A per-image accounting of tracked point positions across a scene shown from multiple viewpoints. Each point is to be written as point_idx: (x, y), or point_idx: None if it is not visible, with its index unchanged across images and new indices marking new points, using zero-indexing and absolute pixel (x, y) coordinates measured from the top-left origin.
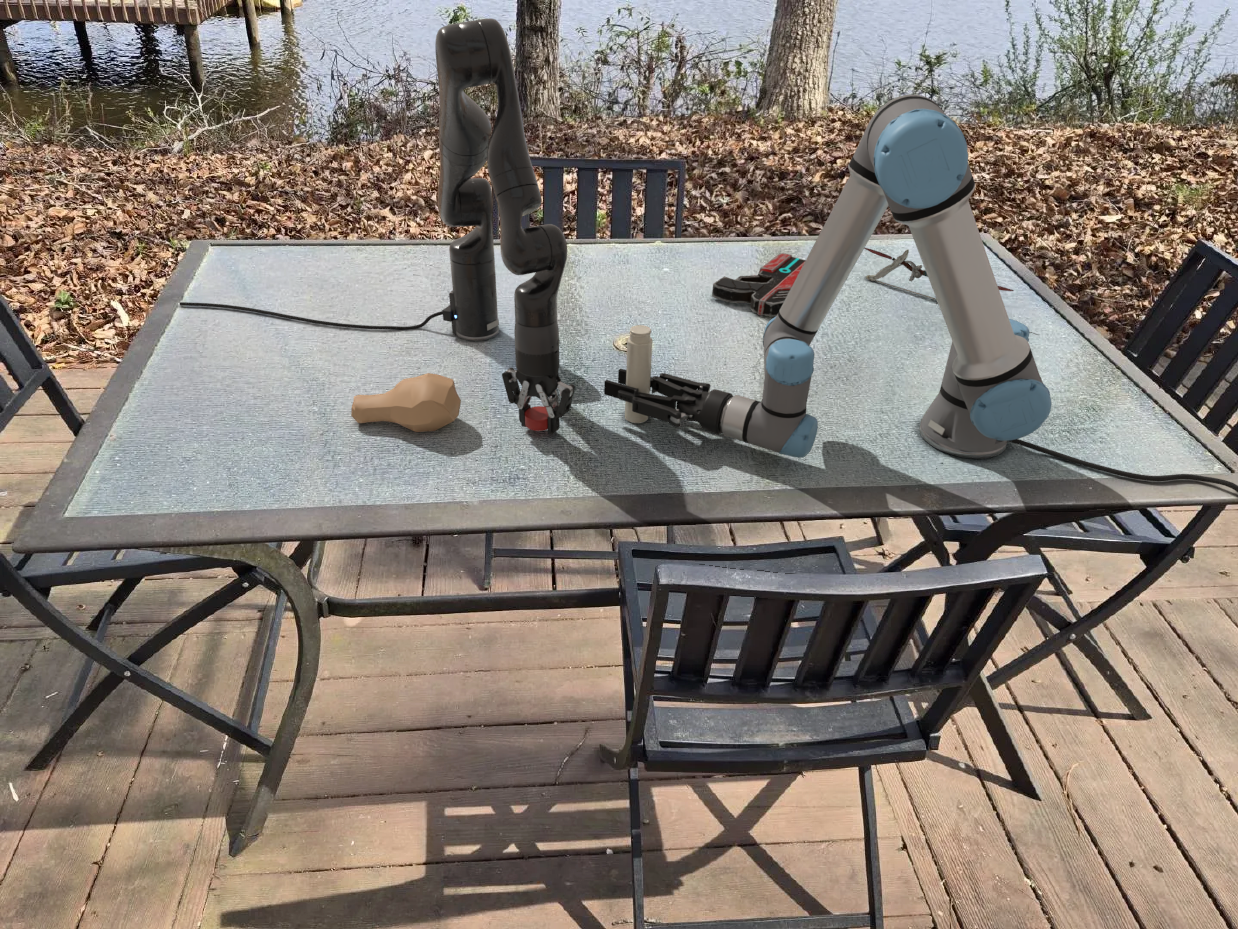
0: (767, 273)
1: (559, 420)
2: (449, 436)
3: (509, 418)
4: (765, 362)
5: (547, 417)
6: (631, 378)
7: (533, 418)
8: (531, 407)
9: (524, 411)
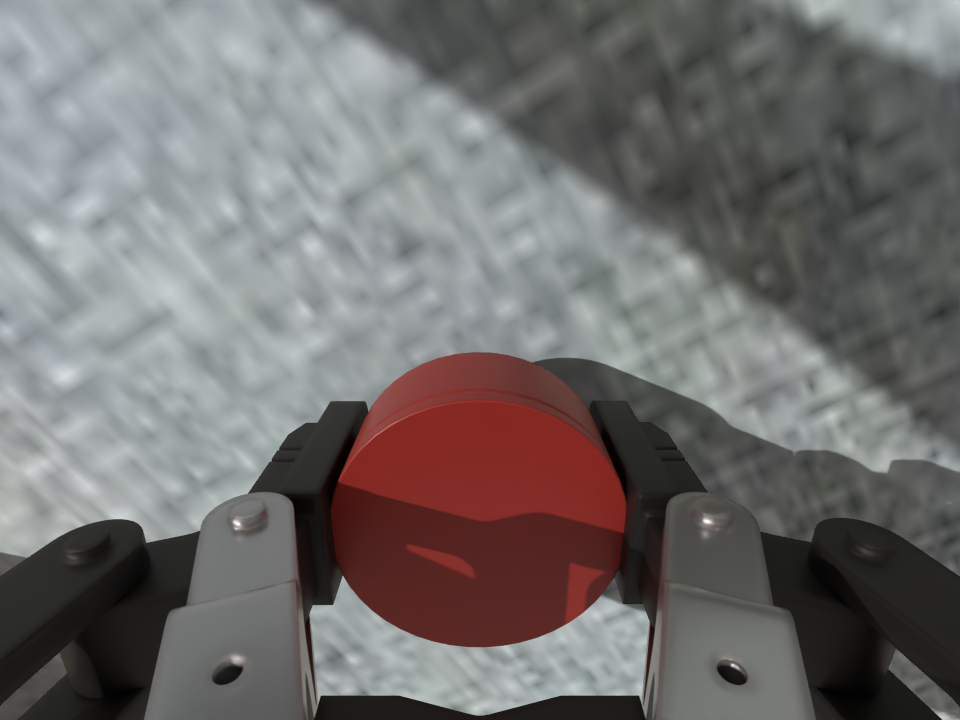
0: None
1: (695, 475)
2: (32, 690)
3: (153, 361)
4: None
5: (600, 560)
6: None
7: (485, 626)
8: (340, 479)
9: (336, 584)
